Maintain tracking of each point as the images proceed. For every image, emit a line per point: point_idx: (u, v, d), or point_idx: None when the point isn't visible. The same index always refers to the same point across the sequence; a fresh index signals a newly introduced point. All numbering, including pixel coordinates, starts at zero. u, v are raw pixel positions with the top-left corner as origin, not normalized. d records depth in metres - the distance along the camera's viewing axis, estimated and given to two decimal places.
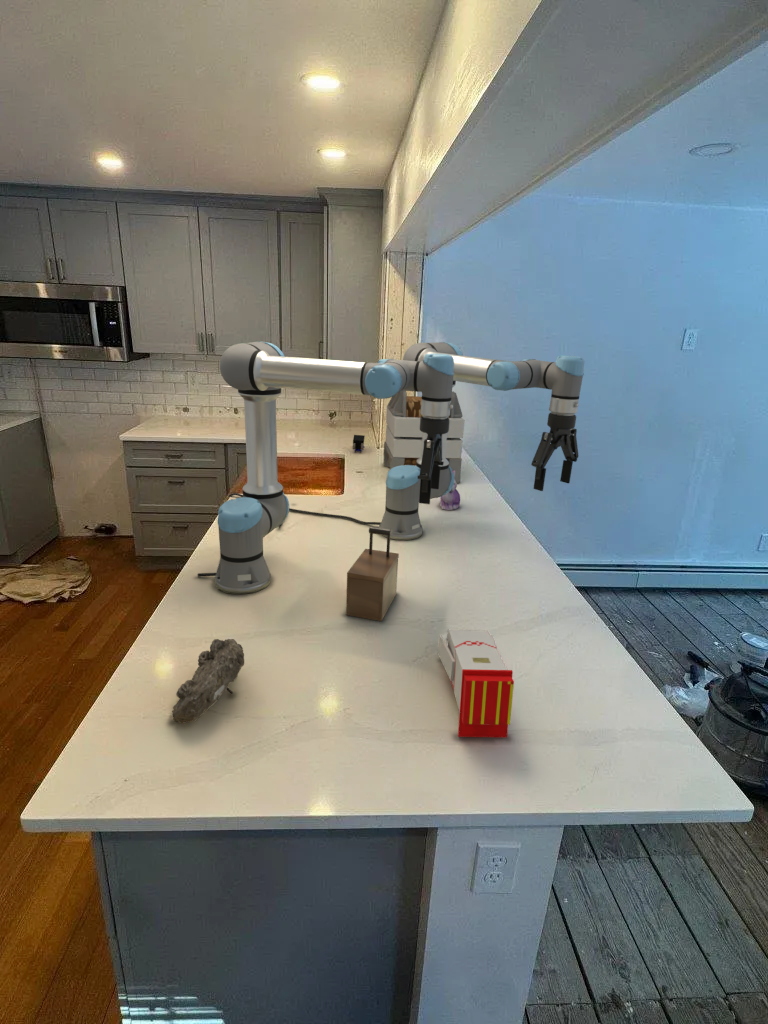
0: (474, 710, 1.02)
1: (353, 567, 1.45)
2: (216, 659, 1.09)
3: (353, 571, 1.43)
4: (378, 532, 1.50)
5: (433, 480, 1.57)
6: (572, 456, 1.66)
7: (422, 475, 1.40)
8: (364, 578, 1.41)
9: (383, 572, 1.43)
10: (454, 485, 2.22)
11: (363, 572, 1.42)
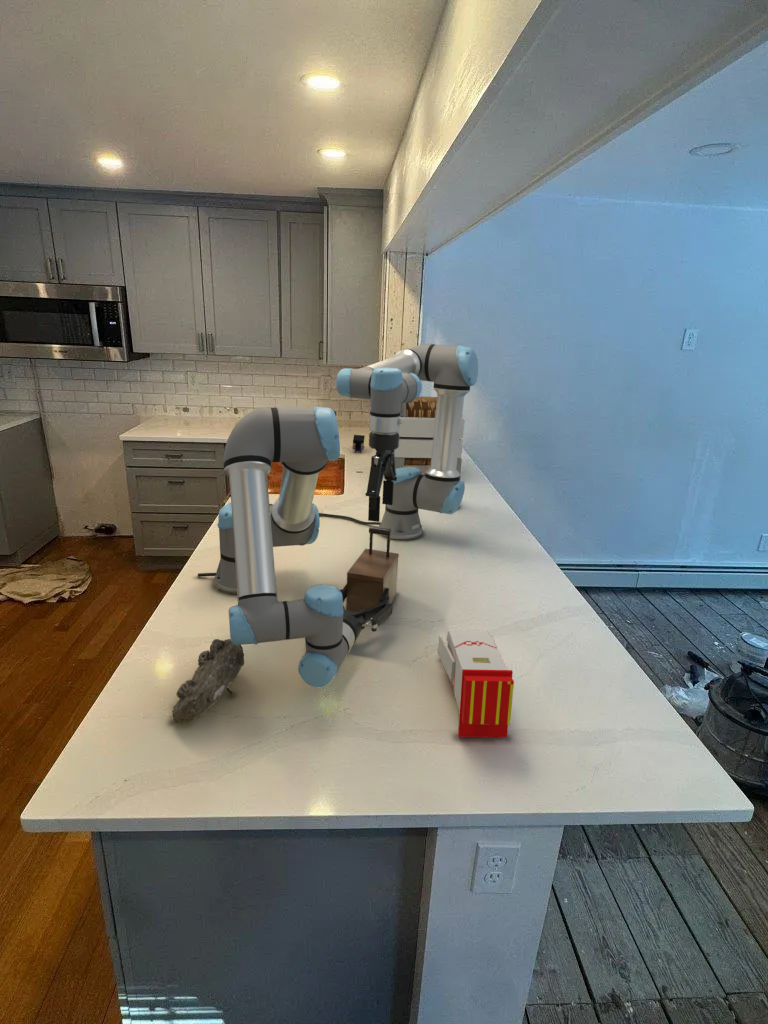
0: (474, 710, 1.02)
1: (353, 567, 1.45)
2: (216, 659, 1.09)
3: (353, 571, 1.43)
4: (378, 532, 1.50)
5: None
6: (393, 475, 1.52)
7: None
8: (364, 578, 1.41)
9: (383, 572, 1.43)
10: None
11: (363, 572, 1.42)
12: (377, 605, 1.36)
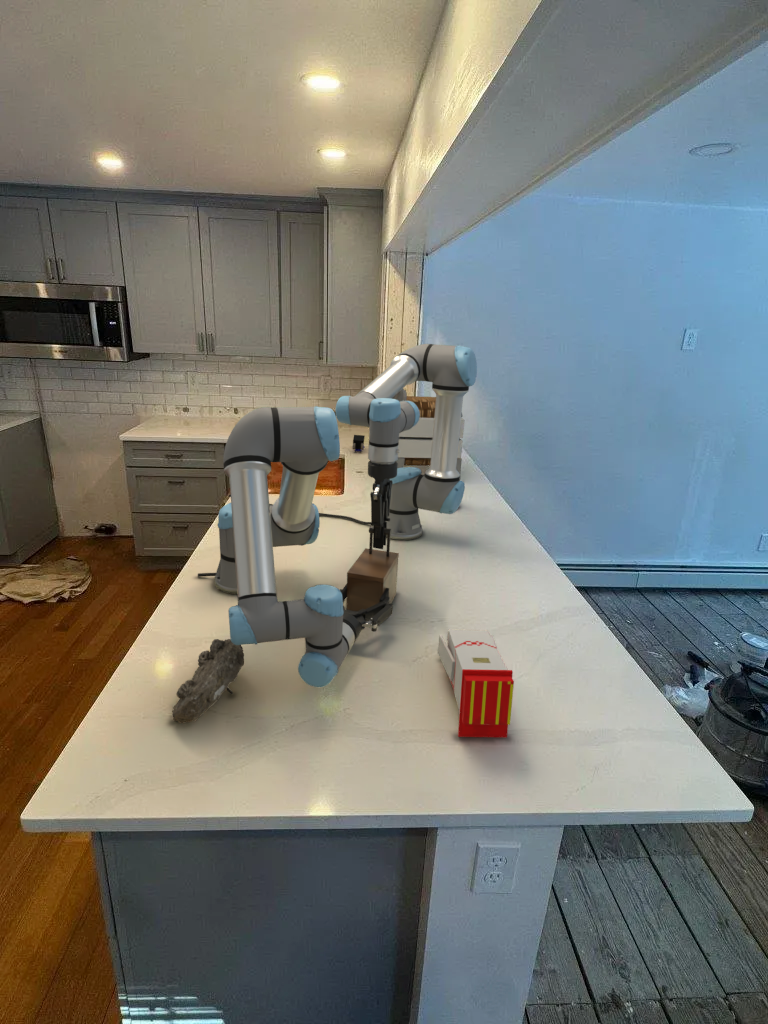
0: (474, 710, 1.02)
1: (353, 567, 1.45)
2: (216, 659, 1.09)
3: (353, 571, 1.43)
4: None
5: None
6: (386, 514, 1.50)
7: None
8: (364, 578, 1.41)
9: (383, 572, 1.43)
10: None
11: (363, 572, 1.42)
12: (377, 605, 1.36)
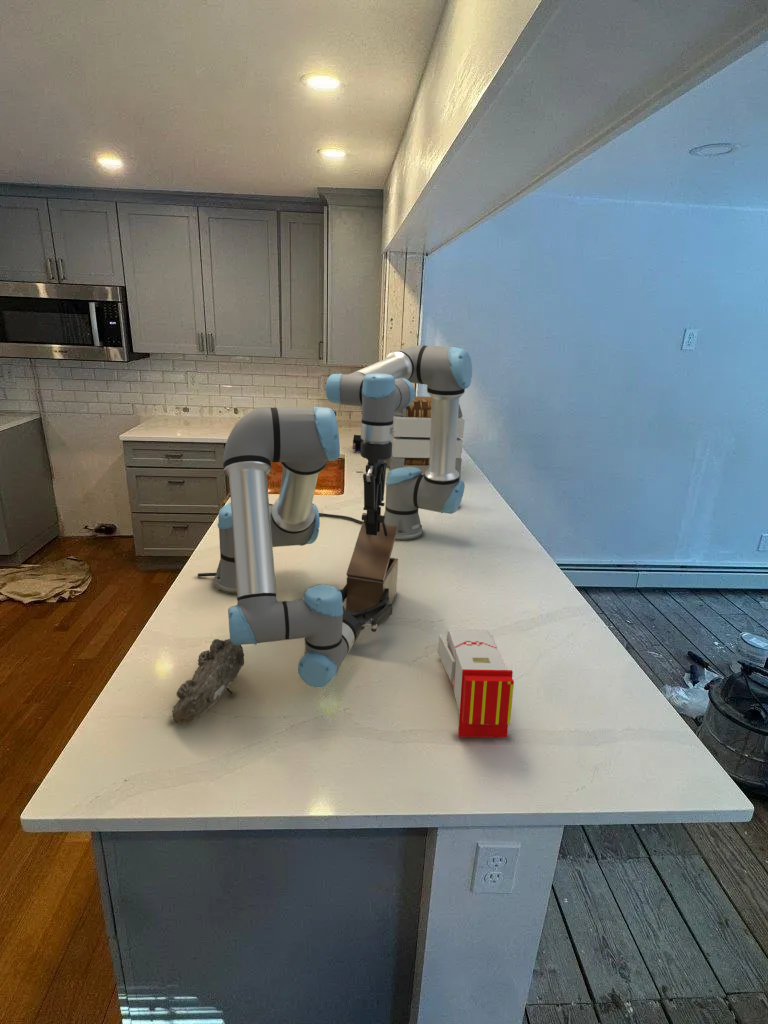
0: (474, 710, 1.02)
1: (352, 562, 1.43)
2: (216, 659, 1.09)
3: (352, 570, 1.42)
4: None
5: None
6: (381, 498, 1.42)
7: None
8: (364, 578, 1.41)
9: (382, 568, 1.41)
10: None
11: (362, 571, 1.41)
12: (377, 605, 1.36)
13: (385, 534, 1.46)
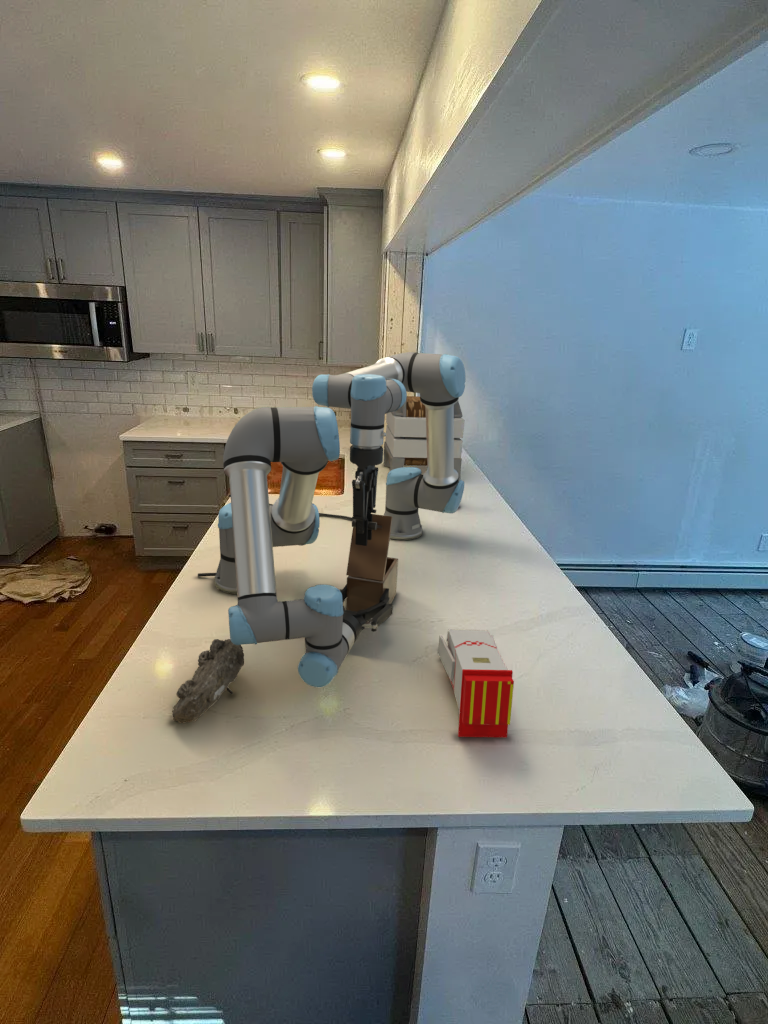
0: (474, 710, 1.02)
1: (350, 562, 1.41)
2: (216, 659, 1.09)
3: (351, 570, 1.41)
4: None
5: None
6: (372, 505, 1.34)
7: None
8: (364, 577, 1.41)
9: (380, 568, 1.39)
10: None
11: (362, 572, 1.40)
12: (377, 605, 1.36)
13: (380, 528, 1.40)
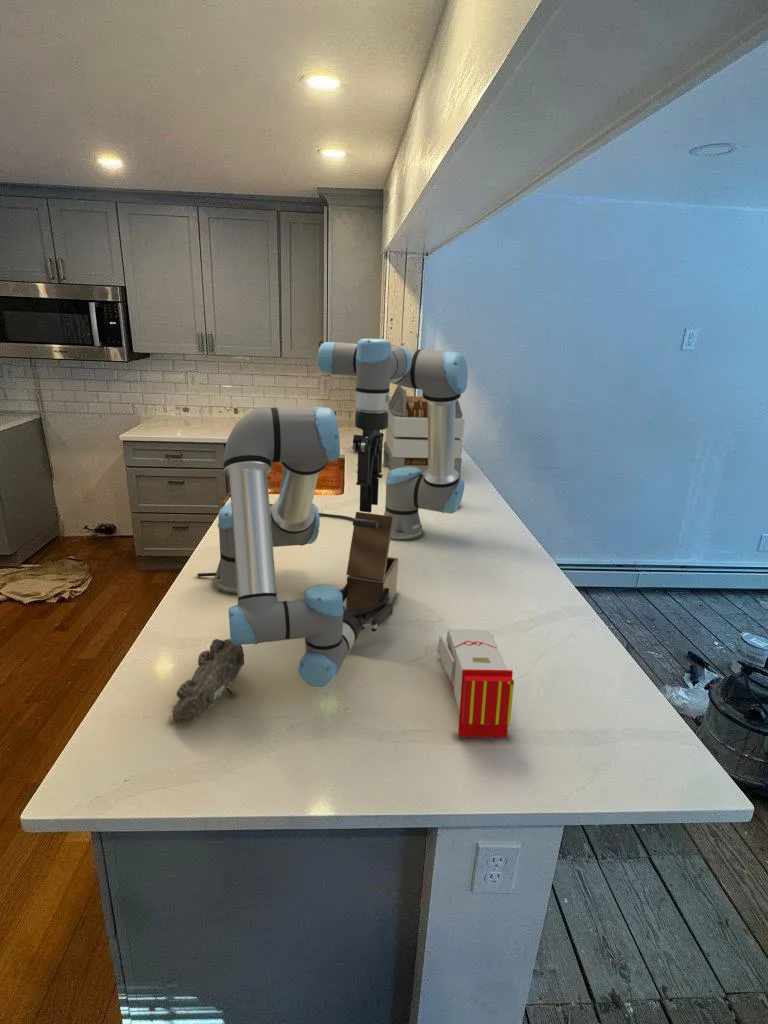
0: (474, 710, 1.02)
1: (350, 562, 1.41)
2: (216, 659, 1.09)
3: (351, 570, 1.41)
4: (364, 527, 1.35)
5: None
6: (378, 470, 1.35)
7: None
8: (364, 577, 1.41)
9: (381, 568, 1.40)
10: None
11: (362, 572, 1.41)
12: (377, 605, 1.36)
13: (380, 528, 1.40)
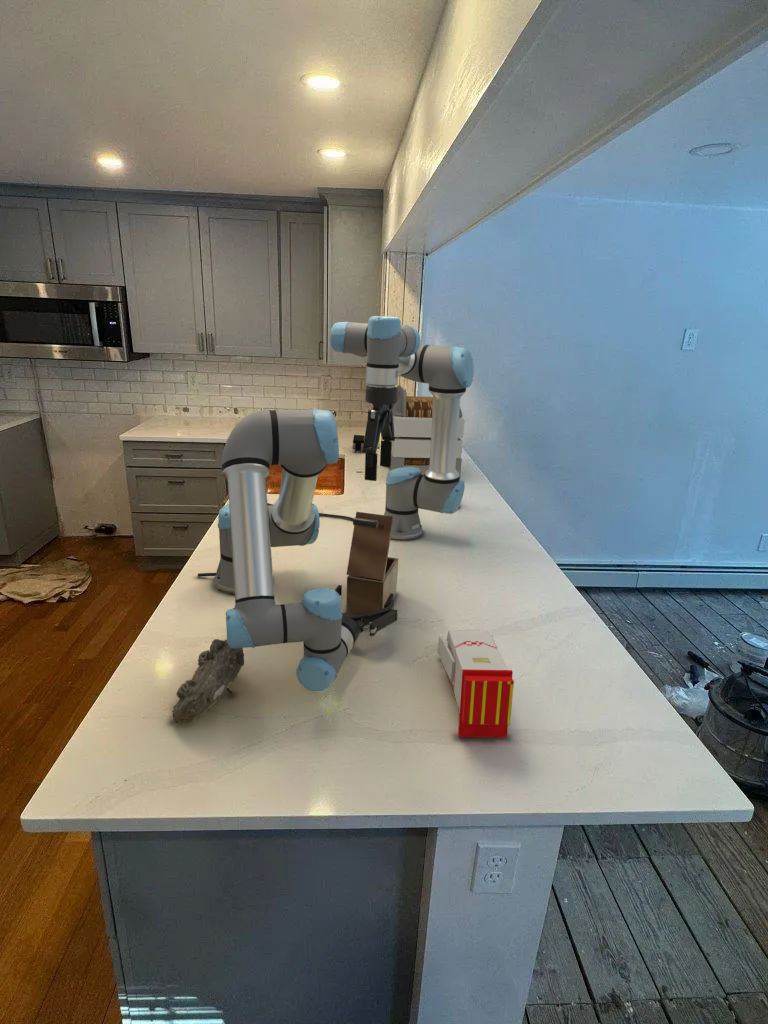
0: (474, 710, 1.02)
1: (350, 561, 1.42)
2: (216, 659, 1.09)
3: (351, 570, 1.41)
4: (364, 526, 1.35)
5: None
6: (391, 435, 1.43)
7: None
8: (364, 577, 1.41)
9: (381, 567, 1.40)
10: None
11: (362, 571, 1.41)
12: (380, 610, 1.33)
13: (381, 528, 1.40)
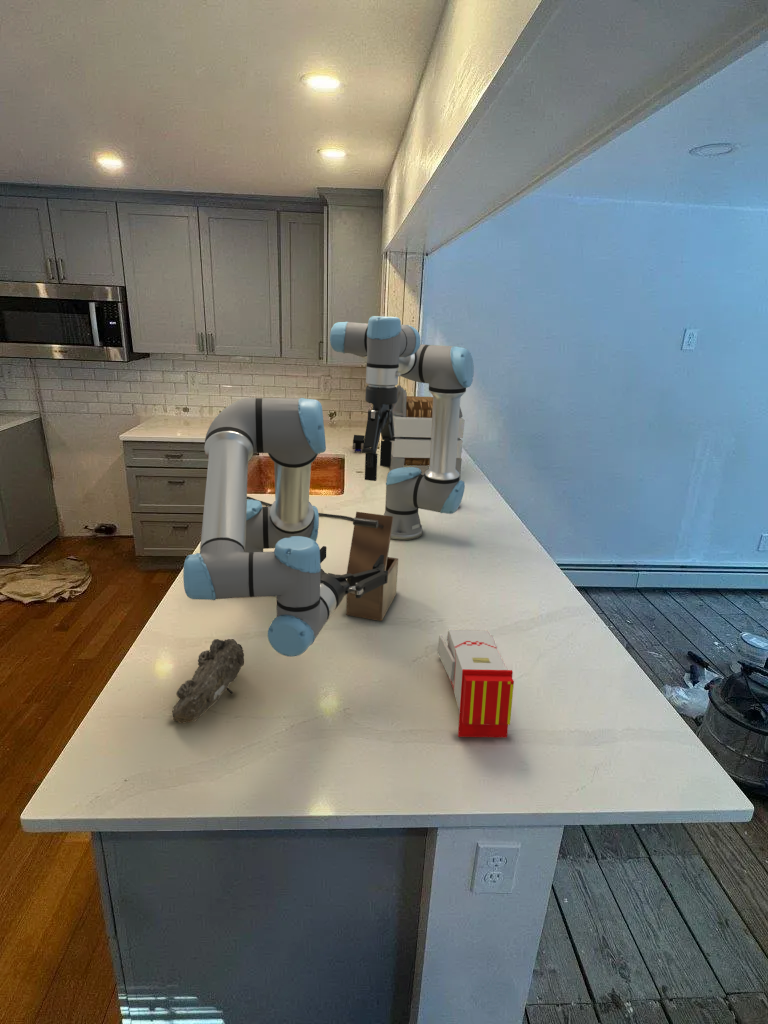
0: (474, 710, 1.02)
1: (350, 561, 1.42)
2: (216, 659, 1.09)
3: (351, 570, 1.41)
4: (364, 526, 1.35)
5: None
6: (391, 435, 1.43)
7: None
8: None
9: None
10: None
11: (362, 571, 1.41)
12: (368, 571, 1.18)
13: (381, 528, 1.40)
